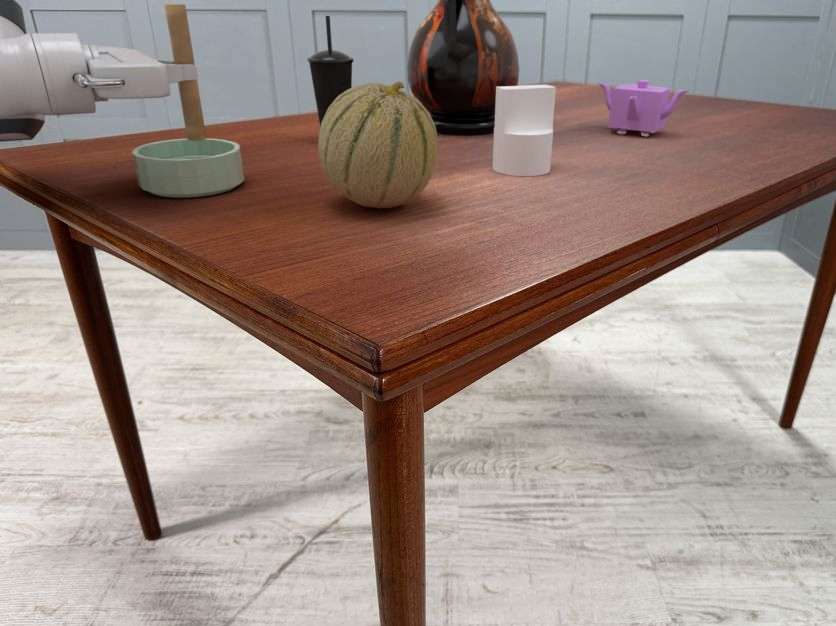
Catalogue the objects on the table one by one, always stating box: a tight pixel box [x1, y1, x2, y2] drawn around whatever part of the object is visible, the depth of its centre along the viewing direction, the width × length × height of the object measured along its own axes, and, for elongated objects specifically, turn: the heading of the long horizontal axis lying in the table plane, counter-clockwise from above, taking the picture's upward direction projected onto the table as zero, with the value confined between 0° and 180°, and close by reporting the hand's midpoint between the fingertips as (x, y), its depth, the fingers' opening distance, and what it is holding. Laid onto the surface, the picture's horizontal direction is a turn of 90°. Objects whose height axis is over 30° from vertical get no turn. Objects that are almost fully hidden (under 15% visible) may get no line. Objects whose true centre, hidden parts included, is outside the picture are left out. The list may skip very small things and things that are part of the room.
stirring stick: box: [163, 3, 207, 141], centre depth 85 cm, size 2×2×16 cm
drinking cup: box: [306, 15, 355, 127], centre depth 114 cm, size 8×8×20 cm
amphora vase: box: [406, 0, 520, 135], centre depth 126 cm, size 22×22×28 cm
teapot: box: [596, 79, 690, 134], centre depth 129 cm, size 18×13×10 cm
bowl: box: [131, 137, 245, 198], centre depth 90 cm, size 13×13×5 cm
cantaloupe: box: [317, 80, 439, 209], centre depth 82 cm, size 15×15×15 cm
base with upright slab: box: [492, 84, 557, 177], centre depth 101 cm, size 9×9×12 cm
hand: (192, 70), depth 85 cm, fingers closed on stirring stick, 2 cm apart
